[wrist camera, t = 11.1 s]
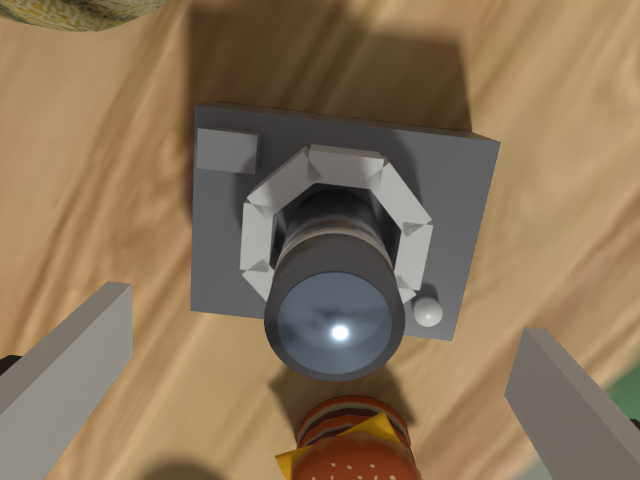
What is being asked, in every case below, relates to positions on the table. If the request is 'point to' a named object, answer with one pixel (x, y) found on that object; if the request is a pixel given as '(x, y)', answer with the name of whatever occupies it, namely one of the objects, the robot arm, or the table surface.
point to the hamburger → (351, 443)
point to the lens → (334, 291)
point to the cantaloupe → (76, 13)
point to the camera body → (334, 173)
